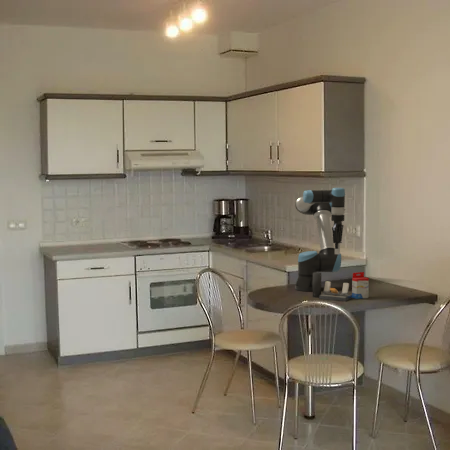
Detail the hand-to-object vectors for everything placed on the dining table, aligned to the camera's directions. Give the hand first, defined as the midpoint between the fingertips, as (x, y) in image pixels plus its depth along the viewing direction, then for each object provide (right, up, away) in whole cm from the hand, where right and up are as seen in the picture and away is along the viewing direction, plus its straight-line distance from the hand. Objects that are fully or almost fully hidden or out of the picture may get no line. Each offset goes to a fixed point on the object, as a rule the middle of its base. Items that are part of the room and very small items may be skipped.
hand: (337, 254), depth 420 cm
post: (-12, -25, -2) cm, 28 cm away
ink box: (+12, -25, -5) cm, 29 cm away
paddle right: (+3, -22, -10) cm, 25 cm away
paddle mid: (-2, -22, -8) cm, 23 cm away
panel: (-2, -25, -7) cm, 26 cm away
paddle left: (-7, -22, -5) cm, 23 cm away
